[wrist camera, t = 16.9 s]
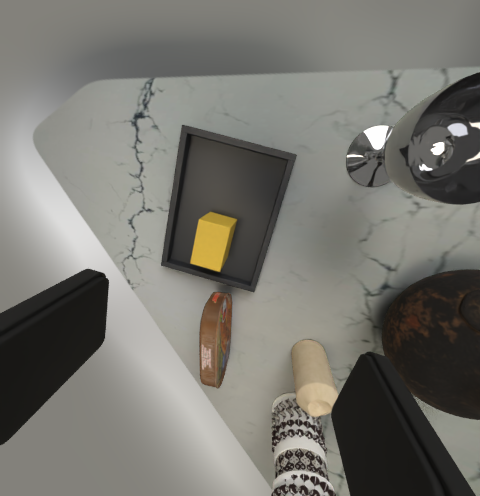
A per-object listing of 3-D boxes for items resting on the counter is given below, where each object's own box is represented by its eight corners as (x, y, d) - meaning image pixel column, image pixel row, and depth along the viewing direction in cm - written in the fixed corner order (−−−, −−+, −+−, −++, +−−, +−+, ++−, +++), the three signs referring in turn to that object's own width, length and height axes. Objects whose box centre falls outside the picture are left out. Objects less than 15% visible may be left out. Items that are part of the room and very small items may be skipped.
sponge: (202, 249, 35) (190, 263, 30) (210, 211, 33) (198, 218, 28) (227, 257, 35) (219, 272, 30) (237, 219, 33) (230, 227, 28)
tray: (187, 127, 31) (181, 124, 29) (295, 155, 30) (296, 154, 28) (166, 260, 37) (160, 265, 35) (255, 286, 37) (254, 292, 35)
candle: (306, 371, 40) (317, 432, 31) (284, 351, 40) (288, 407, 30) (332, 354, 39) (351, 412, 29) (308, 333, 38) (321, 386, 29)
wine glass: (360, 202, 31) (435, 226, 17) (331, 148, 30) (386, 126, 15) (422, 166, 29) (568, 159, 15) (394, 106, 27) (526, 35, 13)
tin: (229, 359, 42) (219, 403, 34) (212, 357, 42) (198, 400, 34) (233, 283, 37) (222, 313, 29) (213, 281, 37) (197, 310, 29)
